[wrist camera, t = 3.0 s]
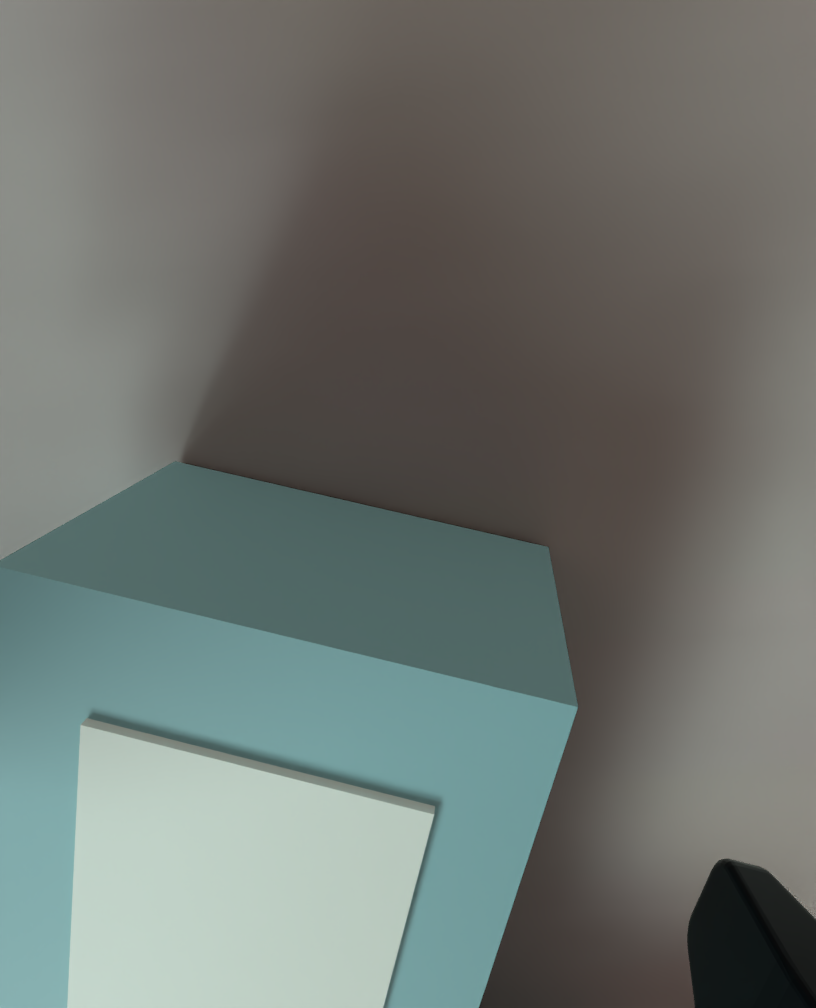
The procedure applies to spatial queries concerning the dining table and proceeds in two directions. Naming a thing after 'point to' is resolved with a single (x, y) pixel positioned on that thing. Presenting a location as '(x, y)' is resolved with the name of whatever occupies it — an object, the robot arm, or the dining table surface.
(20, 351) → the dining table surface
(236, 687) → the teal labeled box
